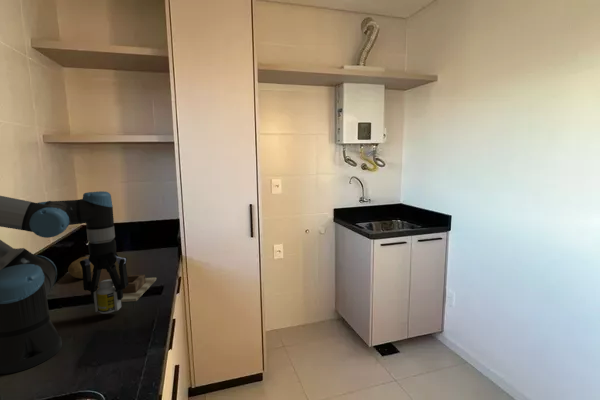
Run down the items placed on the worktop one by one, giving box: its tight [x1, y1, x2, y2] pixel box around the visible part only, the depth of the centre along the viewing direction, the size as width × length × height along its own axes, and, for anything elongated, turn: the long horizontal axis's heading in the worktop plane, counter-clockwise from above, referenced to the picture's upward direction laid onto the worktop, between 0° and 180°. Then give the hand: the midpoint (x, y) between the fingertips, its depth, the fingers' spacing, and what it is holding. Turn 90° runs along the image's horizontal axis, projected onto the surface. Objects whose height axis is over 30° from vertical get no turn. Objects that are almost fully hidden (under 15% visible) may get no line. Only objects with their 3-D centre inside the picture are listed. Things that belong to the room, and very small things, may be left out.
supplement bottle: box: [97, 278, 116, 315], centre depth 106 cm, size 5×5×10 cm
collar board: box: [113, 273, 157, 303], centre depth 126 cm, size 20×14×4 cm
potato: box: [67, 256, 94, 280], centre depth 142 cm, size 10×14×8 cm
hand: (108, 309), depth 106 cm, fingers closed on supplement bottle, 5 cm apart
